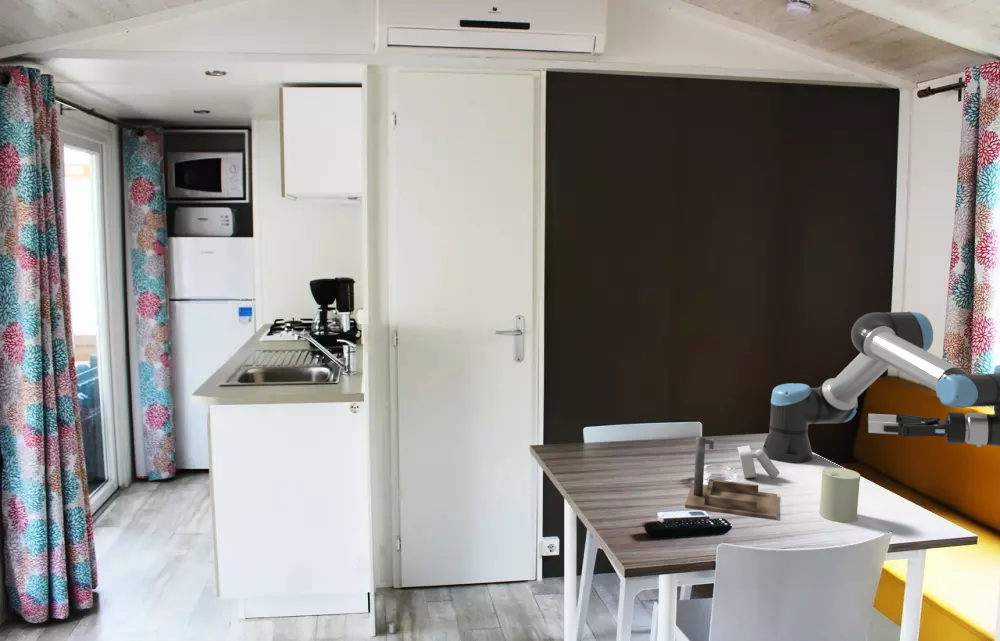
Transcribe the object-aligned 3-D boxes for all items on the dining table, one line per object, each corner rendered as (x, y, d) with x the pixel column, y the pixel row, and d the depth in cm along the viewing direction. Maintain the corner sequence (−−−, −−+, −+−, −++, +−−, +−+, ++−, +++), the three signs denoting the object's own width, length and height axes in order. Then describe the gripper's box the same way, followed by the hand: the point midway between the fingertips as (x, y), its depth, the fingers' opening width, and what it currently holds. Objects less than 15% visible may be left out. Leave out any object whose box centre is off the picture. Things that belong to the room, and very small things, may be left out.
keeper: (776, 496, 214) (780, 437, 212) (776, 519, 198) (780, 455, 195) (692, 486, 222) (694, 429, 220) (684, 507, 205) (687, 445, 203)
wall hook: (782, 480, 226) (775, 447, 226) (746, 486, 229) (739, 453, 228) (778, 472, 234) (771, 440, 233) (743, 477, 236) (736, 446, 236)
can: (811, 512, 203) (814, 467, 202) (837, 507, 207) (840, 464, 205) (838, 524, 195) (842, 478, 193) (865, 519, 199) (869, 474, 197)
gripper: (971, 453, 176) (868, 446, 185) (959, 435, 199) (868, 429, 208) (971, 420, 176) (868, 414, 185) (959, 406, 199) (868, 402, 208)
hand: (868, 422), depth 197 cm, fingers open, 13 cm apart
